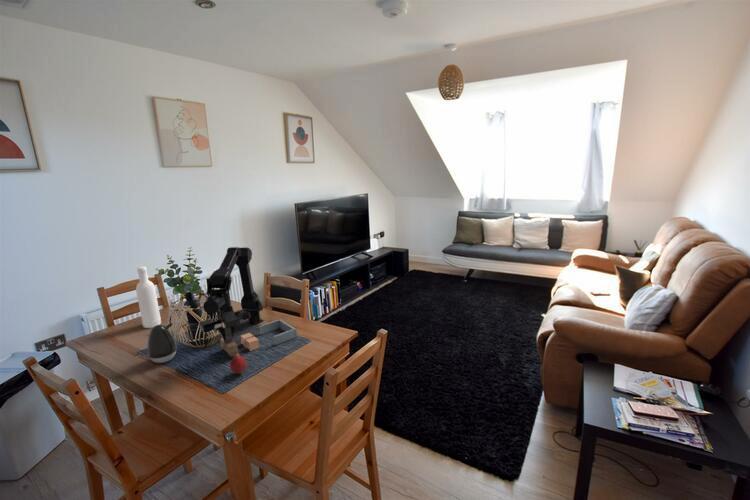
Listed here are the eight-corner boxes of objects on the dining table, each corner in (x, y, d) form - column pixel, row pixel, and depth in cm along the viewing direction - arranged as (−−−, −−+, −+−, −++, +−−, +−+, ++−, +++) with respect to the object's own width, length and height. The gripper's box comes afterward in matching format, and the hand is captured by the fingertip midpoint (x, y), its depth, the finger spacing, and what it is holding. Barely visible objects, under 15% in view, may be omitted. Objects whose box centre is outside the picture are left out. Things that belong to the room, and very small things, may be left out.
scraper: (221, 346, 151) (218, 325, 149) (228, 344, 153) (225, 323, 150) (231, 356, 143) (228, 333, 141) (238, 353, 145) (235, 331, 143)
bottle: (139, 328, 174) (127, 269, 167) (149, 321, 181) (138, 265, 174) (155, 328, 174) (144, 269, 167) (164, 321, 181) (154, 264, 174)
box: (260, 333, 165) (259, 326, 164) (280, 326, 171) (280, 319, 171) (275, 345, 154) (274, 336, 153) (296, 337, 161) (296, 328, 160)
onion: (237, 379, 130) (235, 359, 128) (227, 375, 133) (225, 355, 131) (250, 371, 134) (248, 352, 133) (241, 367, 137) (238, 348, 136)
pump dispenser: (183, 358, 145) (177, 324, 142) (155, 369, 138) (148, 333, 134) (173, 350, 152) (167, 317, 148) (145, 360, 144) (138, 326, 141)
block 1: (241, 344, 156) (240, 335, 155) (250, 340, 159) (249, 332, 158) (245, 347, 153) (244, 338, 152) (254, 344, 156) (253, 335, 155)
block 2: (246, 348, 152) (245, 339, 151) (255, 344, 155) (254, 336, 154) (250, 351, 149) (249, 342, 149) (259, 348, 152) (258, 339, 151)
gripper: (205, 316, 131) (211, 354, 135) (254, 302, 143) (258, 338, 147) (196, 308, 139) (201, 344, 143) (242, 295, 151) (246, 329, 155)
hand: (228, 339), depth 147 cm, fingers closed on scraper, 2 cm apart
